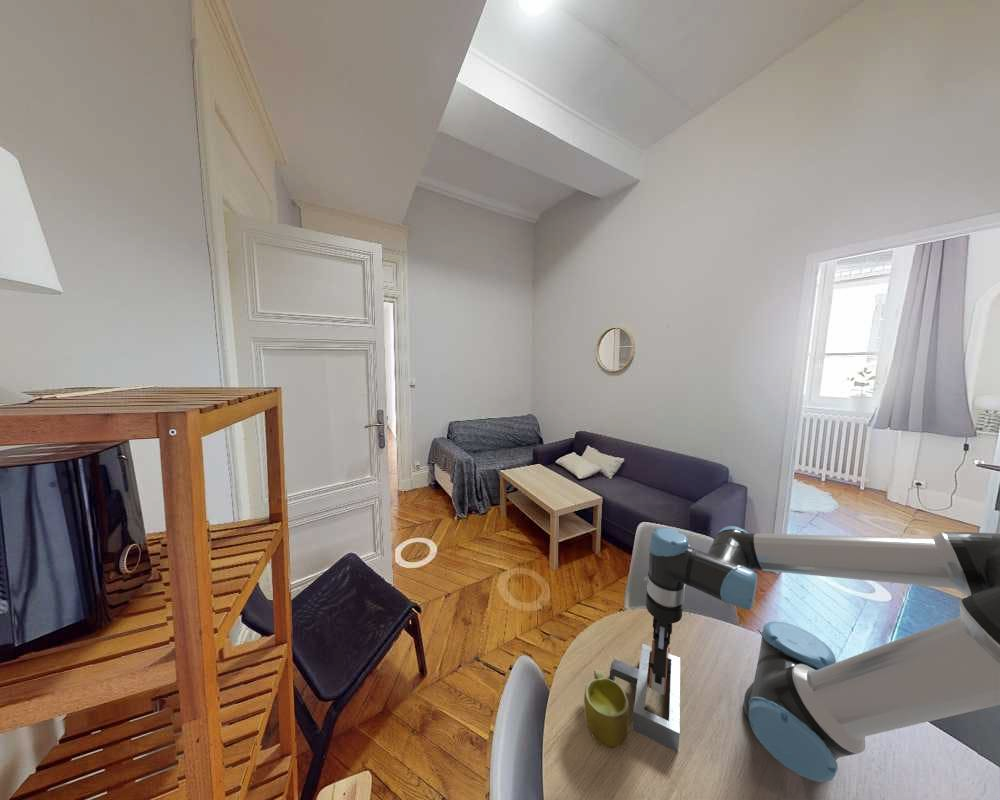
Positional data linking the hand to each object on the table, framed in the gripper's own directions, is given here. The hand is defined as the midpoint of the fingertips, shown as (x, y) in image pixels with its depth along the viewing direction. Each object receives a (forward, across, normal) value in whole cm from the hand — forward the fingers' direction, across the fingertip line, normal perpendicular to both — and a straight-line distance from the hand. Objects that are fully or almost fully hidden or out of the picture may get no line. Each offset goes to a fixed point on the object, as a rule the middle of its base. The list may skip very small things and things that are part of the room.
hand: (657, 682), depth 79 cm
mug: (+5, +10, -10) cm, 15 cm away
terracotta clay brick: (+1, 0, 0) cm, 1 cm away
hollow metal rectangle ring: (+5, 0, -3) cm, 6 cm away
